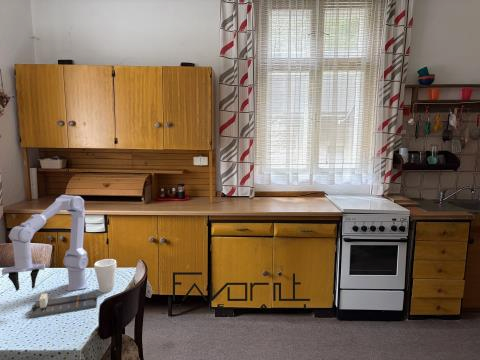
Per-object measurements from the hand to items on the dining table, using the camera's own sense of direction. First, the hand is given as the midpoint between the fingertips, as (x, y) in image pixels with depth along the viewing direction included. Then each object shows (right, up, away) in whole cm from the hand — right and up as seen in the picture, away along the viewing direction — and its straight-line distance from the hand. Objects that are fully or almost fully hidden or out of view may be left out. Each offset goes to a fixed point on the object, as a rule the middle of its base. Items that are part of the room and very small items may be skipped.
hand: (25, 288), depth 136 cm
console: (+13, -9, +6) cm, 17 cm away
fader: (+6, -8, +3) cm, 10 cm away
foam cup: (+24, -7, +21) cm, 33 cm away
